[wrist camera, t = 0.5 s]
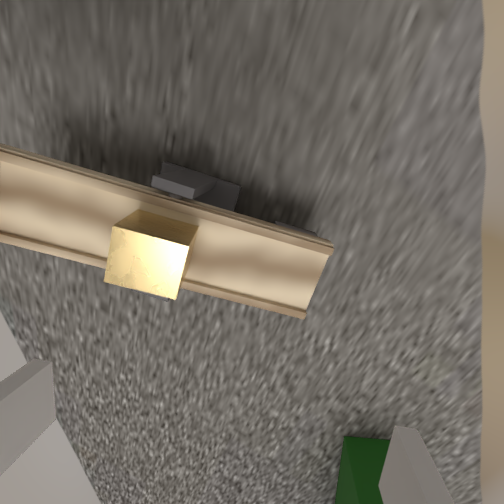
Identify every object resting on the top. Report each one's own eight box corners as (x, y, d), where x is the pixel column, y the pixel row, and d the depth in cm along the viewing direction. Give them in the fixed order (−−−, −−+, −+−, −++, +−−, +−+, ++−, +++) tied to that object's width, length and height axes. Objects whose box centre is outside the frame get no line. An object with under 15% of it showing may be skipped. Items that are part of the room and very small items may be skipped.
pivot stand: (166, 161, 38) (121, 165, 27) (241, 185, 38) (226, 199, 27) (149, 248, 42) (103, 281, 31) (216, 269, 42) (194, 310, 31)
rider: (137, 208, 29) (112, 225, 23) (199, 226, 30) (189, 246, 24) (129, 255, 30) (103, 281, 25) (187, 270, 31) (175, 299, 26)
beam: (30, 140, 32) (-32, 140, 24) (321, 227, 36) (340, 249, 29) (26, 224, 35) (-30, 246, 28) (293, 295, 39) (305, 330, 32)
